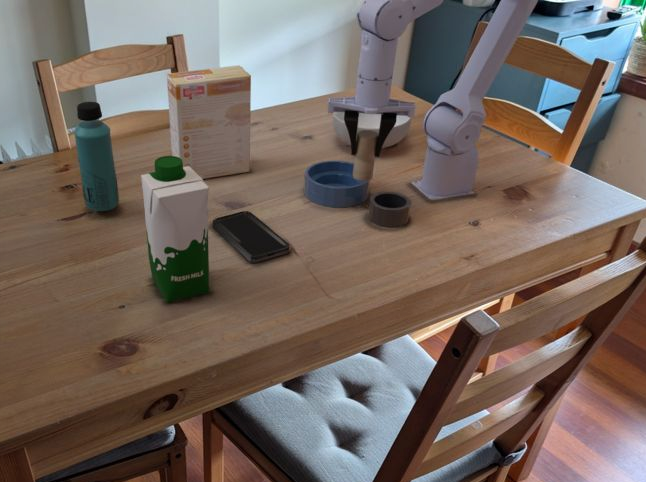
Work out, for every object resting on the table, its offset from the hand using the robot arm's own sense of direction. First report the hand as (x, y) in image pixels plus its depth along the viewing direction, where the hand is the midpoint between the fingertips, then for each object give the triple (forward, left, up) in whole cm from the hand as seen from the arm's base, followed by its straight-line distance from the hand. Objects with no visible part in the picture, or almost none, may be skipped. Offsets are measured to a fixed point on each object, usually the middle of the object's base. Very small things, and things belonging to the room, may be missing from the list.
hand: (365, 153), depth 122 cm
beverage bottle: (+46, -13, -11) cm, 49 cm away
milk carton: (+38, +16, -11) cm, 43 cm away
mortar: (-3, +6, -10) cm, 13 cm away
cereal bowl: (-15, -27, -11) cm, 32 cm away
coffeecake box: (+22, -24, -11) cm, 34 cm away
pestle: (0, 0, -4) cm, 4 cm away
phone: (+23, +5, -10) cm, 26 cm away
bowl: (+2, -6, -10) cm, 12 cm away
